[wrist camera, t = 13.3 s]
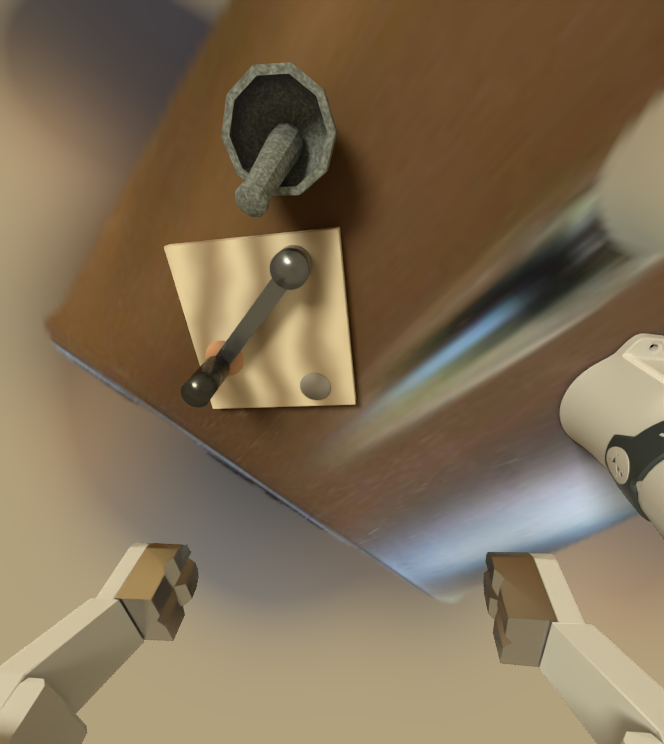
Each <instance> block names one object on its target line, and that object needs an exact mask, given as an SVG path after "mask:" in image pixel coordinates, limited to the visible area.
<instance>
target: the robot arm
mask: <svg viewBox="0 0 664 744" xmlns="http://www.w3.org/2000/svg"><path fill="white" fill-rule="evenodd" d="M653 344H654V346H653V347H652V348H650V346H651V345H653ZM560 421H561V424H562V427H563V429H564V430H565V432H566V433H567V434H568V436H569V437H571V438H572V439H573V440H574V441H576V442H577V443H579V444H580V445H581V446H583V447H584V448H585V449H586V450H587V451H589V452H590V453H591V454H592V455H593V456H594V457H595V458H596V459H597V460H598V461H599V462H600V463H601V464H602V465H604V466H605V467H606V468H607V469H608V470H609V472H610V474H611V476H612V477H613V479H614V481H615V482H616V484H617V486H618V487H619V489H620V490H621V491H622V493H623V494H624V495H625V497H626V498H627V499H628V500H629V502H630V503H631V504H632V505H633V507H634V508H635V509H636V510H637V512H638V513H639V514H640V515H641V516H642V517H644V518H645V519H646V520H648V521H650V522H651V523H652V524H653V525H654V527H655V528H656V529H657V531H658V532H659V533H660V535H661V536H662V537H663V539H664V336H662V335H653V334H638V335H635V336H634V337H632V338H631V339H629V340H628V341H627V342H626V343H625V344H624V345H623V346H622V347H621V348H620V349H619V350H618V351H617V352H616V353H614V354H613V355H612V356H610V357H608V358H606V359H604V360H602V361H600V362H599V363H597V364H595V365H593V366H592V367H590V368H589V369H587V370H586V371H585V372H583V373H582V374H581V375H580V376H579V377H578V378H577V379H576V380H575V381H574V382H573V383H572V384H571V385H570V387H569V388H568V390H567V391H566V393H565V395H564V397H563V399H562V402H561V406H560ZM190 554H191V551H190V549H189V547H188V545H182V544H159V543H137V542H136V543H135V544H133V545H132V546H131V547H130V548H129V549H128V551H127V552H126V554H125V555H124V557H123V558H122V560H121V561H120V563H119V564H118V566H117V567H116V569H115V570H114V572H113V573H112V575H111V576H110V578H109V579H108V581H107V582H106V584H105V585H104V587H103V588H102V590H101V591H100V593H99V594H98V596H97V597H96V598H91V599H89V600H88V601H86V602H85V603H84V604H82V605H81V606H80V607H78V608H77V609H76V610H74V611H73V612H72V613H70V614H69V615H68V616H66V617H65V618H64V619H62V620H61V621H60V622H58V623H57V624H56V625H54V626H53V627H52V628H50V629H49V630H48V631H46V632H45V633H44V634H42V635H41V636H40V637H38V638H37V639H36V640H34V641H33V642H32V643H30V644H29V645H27V646H26V647H25V648H23V649H22V650H21V651H19V652H18V653H17V654H15V655H14V656H13V657H11V658H10V659H9V660H8V661H6V662H5V663H3V664H2V665H1V666H0V744H82V742H83V740H84V738H85V736H86V734H87V726H86V725H85V724H84V723H83V721H82V720H81V719H80V718H79V717H78V716H77V715H76V713H77V712H78V711H79V710H80V709H81V708H82V707H83V705H84V704H85V703H86V702H87V701H88V700H89V699H90V698H91V697H92V696H93V695H94V694H95V693H96V692H97V691H98V690H99V689H100V687H102V685H103V684H104V683H105V682H106V681H107V680H108V679H109V678H110V677H111V676H112V675H113V674H114V673H115V672H116V671H117V670H118V669H119V668H120V667H121V666H122V664H123V663H124V662H125V661H126V660H127V659H128V658H129V657H130V656H131V655H132V654H133V653H134V652H135V651H136V650H137V649H138V648H139V647H140V646H141V644H142V643H143V642H144V640H166V641H173V640H174V638H175V635H176V634H177V631H178V629H179V627H180V625H181V622H182V620H183V618H184V616H185V613H184V608H183V606H184V605H185V604H186V603H187V602H189V601H190V600H191V599H192V597H193V595H194V592H195V590H196V587H197V582H198V568H197V565H196V563H195V562H194V561H193V560H191V559H190V558H189V556H190ZM485 562H486V565H487V569H488V570H487V571H486V572H484V581H483V583H484V594H485V600H486V605H487V609H488V613H489V615H490V616H491V617H492V618H493V619H494V620H495V621H494V628H493V635H494V639H495V643H496V647H497V651H498V655H499V659H500V663H503V664H514V665H524V666H535V667H540V668H539V669H540V671H541V672H542V673H543V674H544V676H545V677H546V679H547V680H548V681H549V682H550V684H551V685H552V686H553V687H554V689H555V690H556V691H557V693H558V694H559V695H560V697H561V698H562V699H563V700H564V702H565V703H566V704H567V706H568V707H569V708H570V709H571V711H572V712H573V713H574V715H575V716H576V717H577V718H578V720H579V721H580V722H581V724H582V725H583V726H584V727H585V729H586V730H587V731H588V733H589V734H590V735H591V736H592V738H593V739H594V740H595V742H596V743H597V744H664V689H663V688H662V687H661V686H660V685H659V684H658V683H656V682H655V681H654V680H653V679H652V678H651V677H650V676H649V675H648V674H647V673H646V672H645V671H643V670H642V669H641V668H640V667H639V666H638V665H637V664H636V663H635V662H634V661H632V660H631V659H630V658H629V657H628V656H627V655H626V654H625V653H624V652H623V651H621V649H619V648H618V647H617V646H616V645H615V644H614V643H613V642H612V641H611V640H610V639H608V638H607V637H606V636H605V635H604V634H603V633H602V632H601V631H600V630H599V629H597V628H596V627H595V626H594V625H593V624H586V623H585V621H584V619H583V617H582V614H581V612H580V610H579V608H578V606H577V603H576V601H575V599H574V597H573V595H572V592H571V590H570V588H569V586H568V583H567V581H566V579H565V577H564V575H563V573H562V570H561V568H560V566H559V564H558V561H557V559H556V558H555V557H554V556H553V554H543V553H518V552H488V553H487V554H486V561H485Z"/></svg>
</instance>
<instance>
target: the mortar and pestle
mask: <svg viewBox="0 0 664 744" xmlns="http://www.w3.org/2000/svg"><path fill="white" fill-rule="evenodd" d="M221 137H222V139H223V142H224V144H225V147H226V149H227V151H228V154H229V156H230V159H231V161H232V164H233V166H234V168H235V171H236V173H237V175H239V176H240V177H241V178H243V179H244V180H245V182H243V183H242V184H241V185H240V186H239V187H238V188H237V190H236V191H235V197H236V203H237V205H238V206H239V208H240V209H241V211H243V212H244V213H246V214H247V215H249V216H252V217H261V216H262V215H263V214H264V213H265V212H267V210H268V209H269V201H270V199H271V198H272V196H278V195H301V194H303V193H304V192H305V191H306V190H307V189H308V188H309V187H311V186H312V185H313V184H314V183H315V182H316V181H317V180H318V179H320V178H321V177H322V176H323V175H324V174H325V173H326V172H328V168H329V164H330V160H331V156H332V152H333V148H334V144H335V140H336V137H337V130H336V126H335V123H334V120H333V116H332V113H331V109H330V106H329V103H328V99H327V96H326V93H325V91H324V89H323V88H321V87H320V86H319V85H318V84H316V83H315V82H314V81H313V80H312V79H310V78H309V77H308V76H307V75H306V74H304V73H303V72H302V71H301V70H299V69H298V68H297V67H296V66H295V65H293V64H292V63H291V62H290V63H274V64H259V65H252V67H251V68H250V69H249V70H248V71H247V72H246V73H245V74H244V75H243V77H242V78H241V79H240V80H239V81H238V82H237V83H236V84H235V86H234V87H233V88H232V89H231V90H230V91H229V92H228V93H227V95H226V103H225V111H224V119H223V127H222V135H221Z"/></svg>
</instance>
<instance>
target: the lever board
mask: <svg viewBox="0 0 664 744" xmlns="http://www.w3.org/2000/svg"><path fill="white" fill-rule="evenodd" d="M289 245H298V246H301V247H303V248H304V249H306V250H307V251H308V252H309V254H310V255H311V257H312V261H313V269H312V272H311V274H310V276H309V277H308V279H307V280H306V282H305V283H304V284H303V285H302V286H301V287H299V288H297V289H294V290H286V292H285V293H284V294H283V296H282V297H281V298H280V300H279V301H278V302H277V304H276V305H275V306H274V308H273V309H272V310H271V311H270V313H269V314H268V315H267V317H266V318H265V319H264V321H263V322H262V323H261V325H260V326H259V327H258V329H257V330H256V331H255V333H254V334H253V335H252V336H251V338H250V339H249V340H248V342H247V343H246V344H245V346H244V347H243V348H242V350H241V351H240V352H239V354H238V355H237V356H236V358H235V359H234V360H233V362H232V363H231V364H230V365H229V366H230V373H229V375H228V376H227V378H226V379H225V380H224V382H223V383H222V384H221V386H220V387H219V389H218V390H217V391H216V393H215V394H214V395H213V397H212V398H211V399H210V400H211V403H212V407H213V409H223V408H255V407H288V406H320V405H353V404H356V392H355V381H354V371H353V360H352V350H351V339H350V329H349V318H348V308H347V298H346V287H345V277H344V266H343V256H342V245H341V235H340V227H334V228H324V229H314V230H305V231H295V232H285V233H275V234H266V235H256V236H246V237H237V238H227V239H217V240H207V241H198V242H188V243H178V244H170V245H167V246H164V249H165V252H166V256H167V259H168V262H169V265H170V269H171V272H172V275H173V279H174V282H175V285H176V288H177V292H178V295H179V298H180V302H181V305H182V308H183V311H184V315H185V318H186V321H187V325H188V328H189V331H190V334H191V338H192V341H193V344H194V347H195V351H196V354H197V357H198V361H199V364H200V366H201V365H202V364H203V363H204V362H205V361H206V360H207V359H208V358H209V357H211V356H216V355H217V353H218V352H219V350H220V349H221V348H222V346H223V345H224V344H225V342H226V341H227V339H228V338H229V337H230V335H231V334H232V332H233V331H234V330H235V328H236V327H237V326H238V324H239V323H240V321H241V320H242V319H243V317H244V316H245V315H246V313H247V312H248V310H249V309H250V308H251V306H252V305H253V303H254V302H255V301H256V299H257V298H258V297H259V295H260V294H261V292H262V291H263V290H264V288H265V287H266V285H267V284H268V283H269V281H270V280H271V279H272V277H271V274H270V263H271V260H272V258H273V257H274V256H275V255H276V254H277V253H278V252H279V251H281V250H282V249H283V248H284V247H286V246H289Z"/></svg>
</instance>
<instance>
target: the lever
mask: <svg viewBox="0 0 664 744" xmlns="http://www.w3.org/2000/svg"><path fill="white" fill-rule="evenodd" d="M312 269H313V261H312V257H311V255H310V254H309V252H308V251H307V250H306V249H304V248H303V247H301V246H298V245H289V246H286V247H284V248H283V249H282V250H281V251H279V252H278V253H277V254H276V255H275V256H274V257H273V258H272V260H271V263H270V274H271V277H272V279H271V280H270V281H269V283H268V284H267V285H266V287H265V288H264V290H263V291H262V292H261V294H260V295H259V297H258V298H257V299H256V301H255V302H254V303H253V305H252V306H251V308H250V309H249V310H248V312H247V313H246V315H245V316H244V317H243V319H242V320H241V321H240V323H239V324H238V326H237V327H236V328H235V330H234V331H233V332H232V334H231V335H230V337H229V338H228V339H227V341H226V342H225V344H224V345H223V346H222V348H221V349H220V350H219V352H218V353H217V355H216V356H211V357H209V358H208V359H207V360H206V361H205V362H204V363H203V364H202V365H201V366H200V367H199V368H198V370H197V371H196V372H195V373H194V374H193V375H192V376H191V377H190V378H189V380H188V381H187V382H186V383H185V384H184V385H183V386H182V388H181V396H182V398H183V399H184V401H185V402H186V403H188V404H189V405H191V406H194V407H203V406H205V405H207V403H208V402H209V401H210V399H211V398H212V397H213V395H214V394H215V393H216V391H217V390H218V389H219V387H220V386H221V384H222V383H223V382H224V380H225V379H226V378H227V376H228V375H229V373H230V366H229V365H230V364H231V363H232V362H233V360H234V359H235V358H236V356H237V355H238V354H239V352H240V351H241V350H242V348H243V347H244V346H245V344H246V343H247V342H248V340H249V339H250V338H251V336H252V335H253V334H254V333H255V331H256V330H257V329H258V327H259V326H260V325H261V323H262V322H263V321H264V319H265V318H266V317H267V315H268V314H269V313H270V311H271V310H272V309H273V308H274V306H275V305H276V304H277V302H278V301H279V300H280V298H281V297H282V296H283V294H284V293H285V292H286V290H294V289H297V288H299V287H301V286H302V285H303V284H304V283H305V282H306V280H307V279H308V277H309V276H310V274H311V272H312Z"/></svg>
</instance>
